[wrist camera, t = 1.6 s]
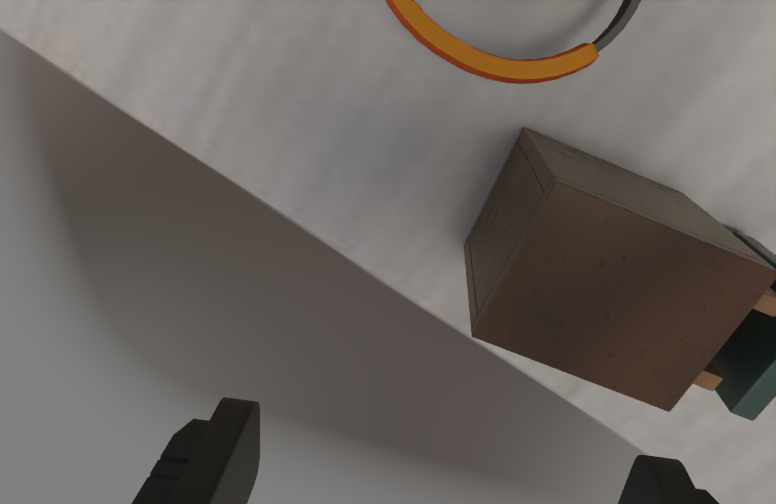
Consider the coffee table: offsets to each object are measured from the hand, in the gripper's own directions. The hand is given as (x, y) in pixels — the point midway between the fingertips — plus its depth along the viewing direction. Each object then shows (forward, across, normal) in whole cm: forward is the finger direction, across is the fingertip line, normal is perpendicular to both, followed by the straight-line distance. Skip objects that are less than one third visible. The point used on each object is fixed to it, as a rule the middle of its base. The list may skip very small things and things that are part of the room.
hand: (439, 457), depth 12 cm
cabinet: (+20, -7, +2) cm, 22 cm away
